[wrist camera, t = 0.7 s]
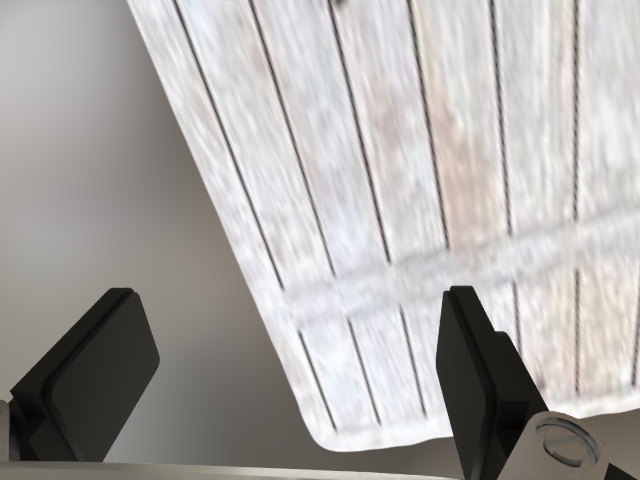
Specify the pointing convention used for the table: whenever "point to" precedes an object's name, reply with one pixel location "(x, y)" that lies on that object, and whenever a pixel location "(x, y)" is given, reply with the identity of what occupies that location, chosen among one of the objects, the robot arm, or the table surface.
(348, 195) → the table surface
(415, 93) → the table surface
